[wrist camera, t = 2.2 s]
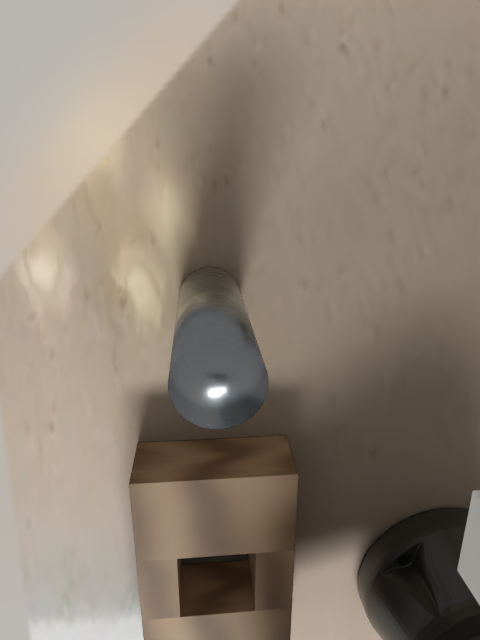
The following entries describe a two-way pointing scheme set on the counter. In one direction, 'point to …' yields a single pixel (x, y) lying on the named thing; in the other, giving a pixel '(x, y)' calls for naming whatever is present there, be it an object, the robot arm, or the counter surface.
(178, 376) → the peg
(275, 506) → the socket block
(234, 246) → the counter surface
